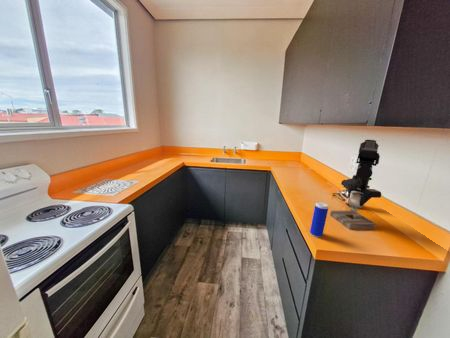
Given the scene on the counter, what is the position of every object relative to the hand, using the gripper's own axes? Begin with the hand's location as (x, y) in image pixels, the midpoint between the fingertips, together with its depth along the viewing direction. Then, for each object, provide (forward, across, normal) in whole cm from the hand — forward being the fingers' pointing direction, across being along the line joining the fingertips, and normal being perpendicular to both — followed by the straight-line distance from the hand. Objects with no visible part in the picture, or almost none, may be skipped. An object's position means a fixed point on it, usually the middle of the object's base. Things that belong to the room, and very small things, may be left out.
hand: (355, 203), depth 94 cm
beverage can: (+11, +11, -27) cm, 31 cm away
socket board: (+11, 0, 0) cm, 11 cm away
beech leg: (+4, 0, 0) cm, 4 cm away
